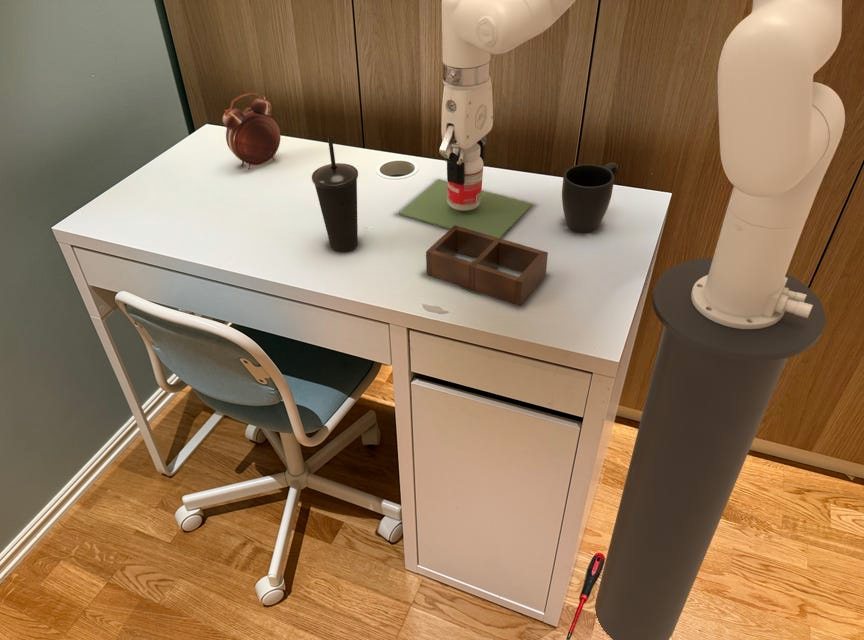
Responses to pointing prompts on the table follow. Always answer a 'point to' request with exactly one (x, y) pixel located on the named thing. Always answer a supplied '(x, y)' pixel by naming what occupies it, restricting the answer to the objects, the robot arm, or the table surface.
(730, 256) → the robot arm
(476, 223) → the mat
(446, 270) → the wooden compartment box
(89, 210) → the table surface
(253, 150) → the alarm clock
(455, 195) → the pill bottle
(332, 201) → the drinking cup
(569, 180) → the mug
